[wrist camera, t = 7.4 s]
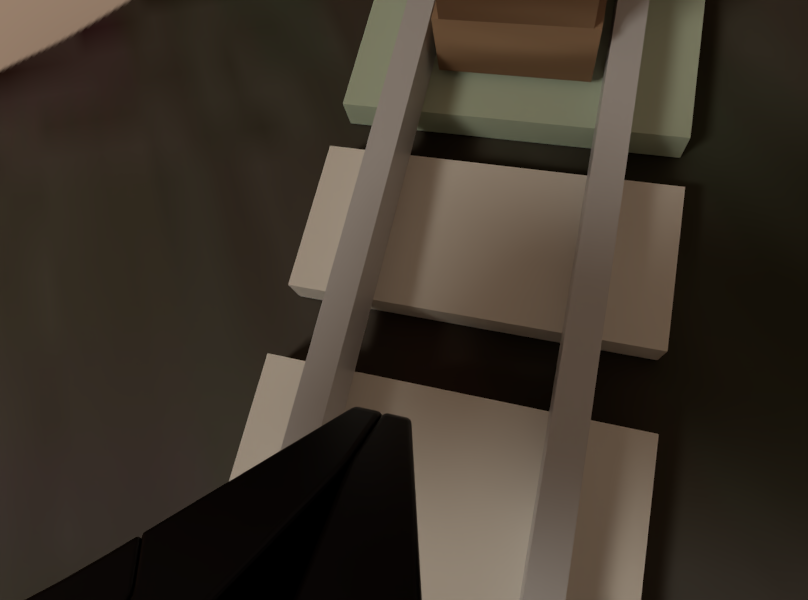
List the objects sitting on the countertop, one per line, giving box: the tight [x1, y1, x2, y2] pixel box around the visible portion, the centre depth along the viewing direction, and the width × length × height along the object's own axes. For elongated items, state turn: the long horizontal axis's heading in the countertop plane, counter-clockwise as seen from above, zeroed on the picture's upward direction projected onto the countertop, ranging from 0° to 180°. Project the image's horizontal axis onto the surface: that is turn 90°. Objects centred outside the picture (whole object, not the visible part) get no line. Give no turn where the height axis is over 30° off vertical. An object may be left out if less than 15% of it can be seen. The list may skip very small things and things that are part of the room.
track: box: [229, 0, 705, 600], centre depth 15 cm, size 20×10×4 cm, turn 167°
